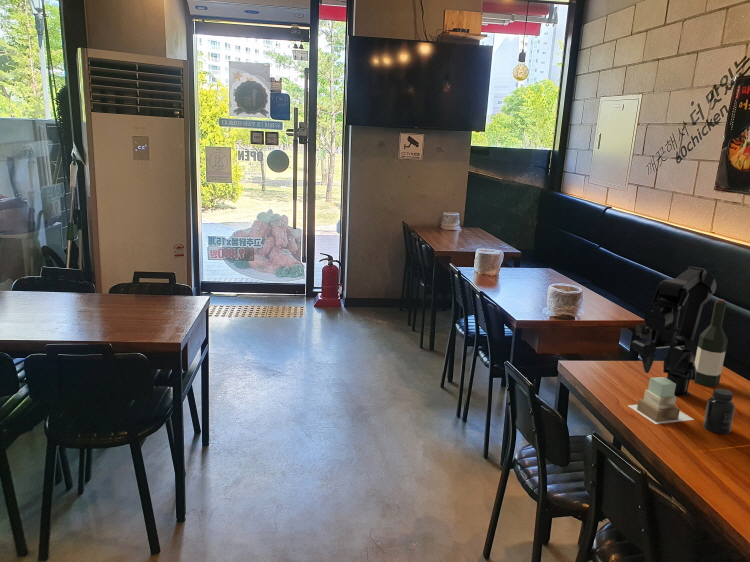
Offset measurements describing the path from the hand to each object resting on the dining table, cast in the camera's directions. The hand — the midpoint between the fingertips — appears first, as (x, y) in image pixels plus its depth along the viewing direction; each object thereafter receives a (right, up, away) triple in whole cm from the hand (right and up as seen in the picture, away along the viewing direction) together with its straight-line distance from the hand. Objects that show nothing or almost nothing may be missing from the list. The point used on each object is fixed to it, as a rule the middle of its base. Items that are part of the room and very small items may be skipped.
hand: (658, 371), depth 171 cm
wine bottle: (+29, -8, +25) cm, 39 cm away
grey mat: (+1, -13, +1) cm, 13 cm away
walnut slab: (-1, -13, -1) cm, 13 cm away
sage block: (-1, -6, -3) cm, 7 cm away
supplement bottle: (+12, -16, -8) cm, 22 cm away
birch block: (-1, -10, -2) cm, 10 cm away
